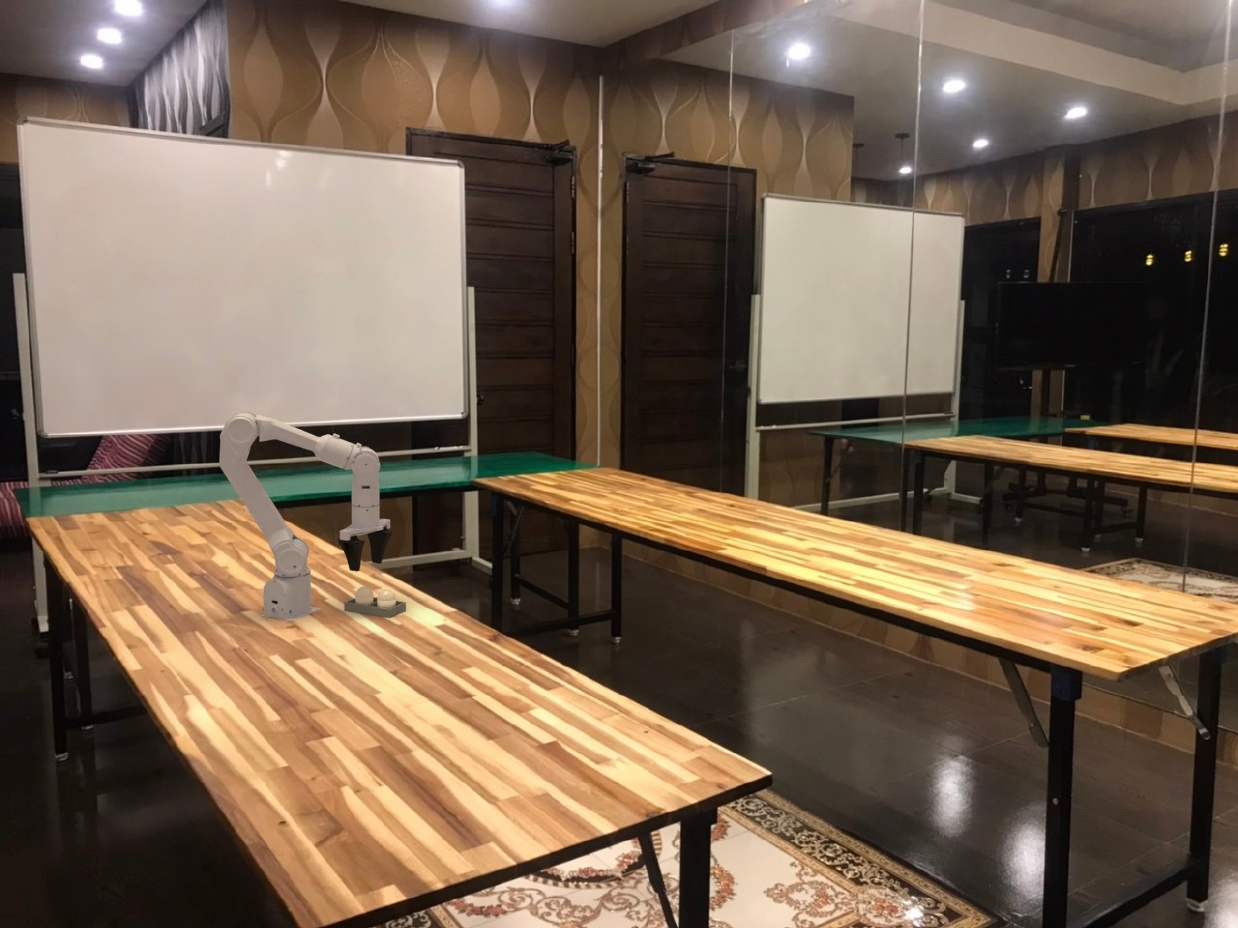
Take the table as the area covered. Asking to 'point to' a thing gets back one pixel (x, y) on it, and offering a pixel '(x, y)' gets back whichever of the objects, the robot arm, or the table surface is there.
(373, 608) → the egg carton
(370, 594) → the carton egg
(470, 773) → the table surface
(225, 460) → the robot arm
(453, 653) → the table surface
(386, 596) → the cream rounded cylinder
